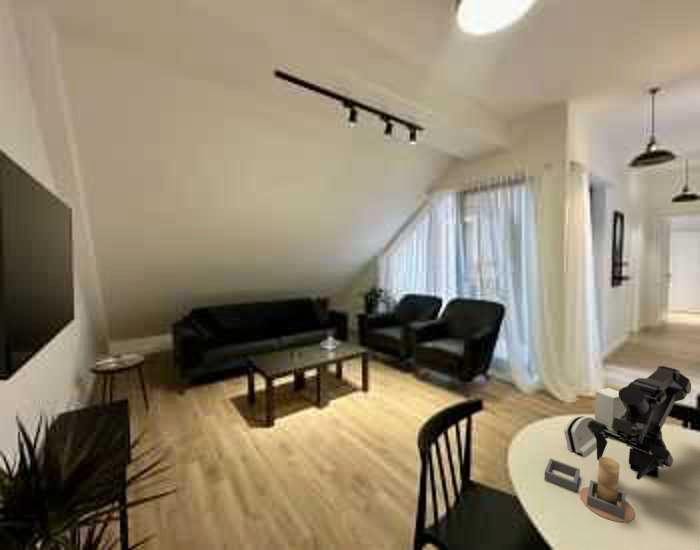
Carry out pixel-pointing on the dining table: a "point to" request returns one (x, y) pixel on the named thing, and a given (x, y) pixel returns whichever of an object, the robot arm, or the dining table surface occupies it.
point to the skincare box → (608, 407)
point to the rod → (608, 480)
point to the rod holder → (559, 479)
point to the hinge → (580, 436)
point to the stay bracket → (607, 504)
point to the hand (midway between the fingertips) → (616, 469)
